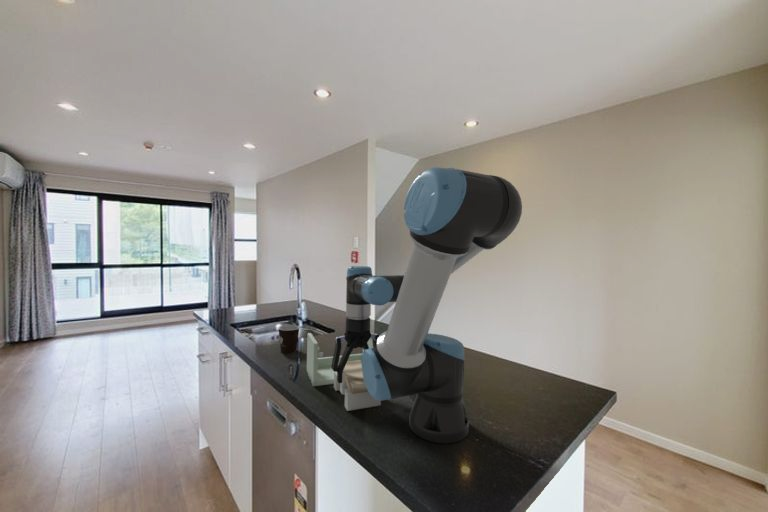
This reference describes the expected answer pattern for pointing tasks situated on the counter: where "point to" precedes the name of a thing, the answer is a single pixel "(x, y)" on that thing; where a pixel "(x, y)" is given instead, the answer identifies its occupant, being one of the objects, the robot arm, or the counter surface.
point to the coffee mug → (288, 338)
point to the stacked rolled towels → (354, 377)
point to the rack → (356, 398)
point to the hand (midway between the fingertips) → (356, 390)
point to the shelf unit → (323, 362)
